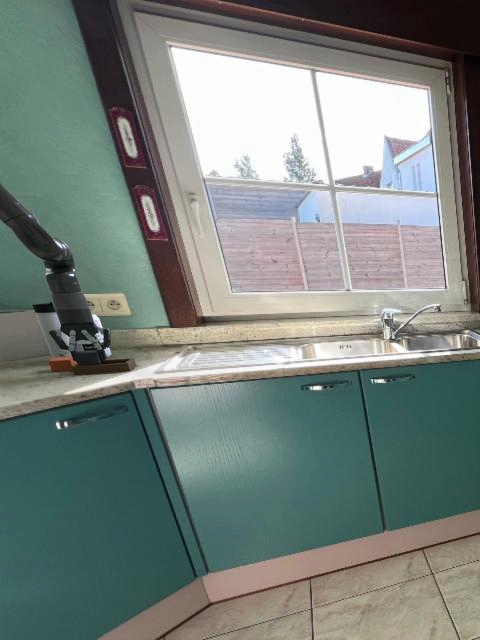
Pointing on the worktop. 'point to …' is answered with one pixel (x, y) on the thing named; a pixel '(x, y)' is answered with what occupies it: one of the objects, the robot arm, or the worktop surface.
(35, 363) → the worktop surface
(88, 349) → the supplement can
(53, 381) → the worktop surface
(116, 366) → the tray
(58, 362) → the pad
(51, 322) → the travel mug
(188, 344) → the worktop surface
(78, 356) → the pad
